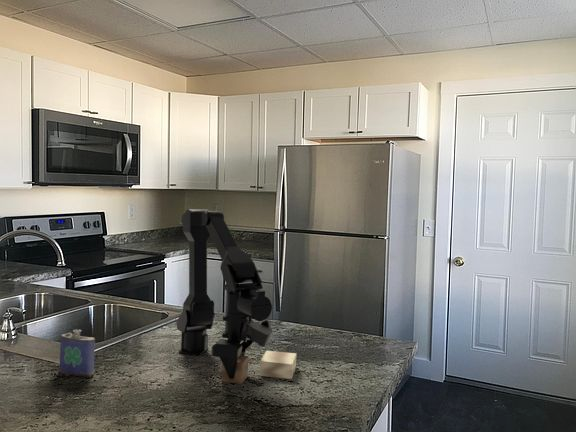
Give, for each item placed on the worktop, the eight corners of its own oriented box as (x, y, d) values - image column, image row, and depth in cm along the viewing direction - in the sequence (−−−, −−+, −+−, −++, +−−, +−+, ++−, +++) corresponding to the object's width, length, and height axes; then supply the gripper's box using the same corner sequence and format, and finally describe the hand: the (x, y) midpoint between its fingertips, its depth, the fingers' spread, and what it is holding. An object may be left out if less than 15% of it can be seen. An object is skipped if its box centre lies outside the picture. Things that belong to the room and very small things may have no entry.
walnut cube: (221, 381, 117) (222, 360, 116) (228, 373, 122) (229, 353, 121) (241, 383, 116) (242, 363, 115) (247, 376, 121) (248, 356, 120)
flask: (96, 374, 117) (97, 330, 117) (88, 378, 115) (89, 333, 114) (64, 368, 120) (64, 325, 119) (55, 372, 117) (56, 328, 116)
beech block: (259, 376, 121) (260, 361, 121) (265, 365, 129) (266, 350, 129) (291, 380, 120) (292, 364, 120) (295, 368, 128) (296, 353, 128)
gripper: (259, 324, 107) (256, 394, 108) (278, 305, 125) (276, 365, 126) (211, 319, 109) (209, 387, 110) (237, 301, 127) (234, 360, 128)
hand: (235, 374), depth 119 cm, fingers closed on walnut cube, 5 cm apart
